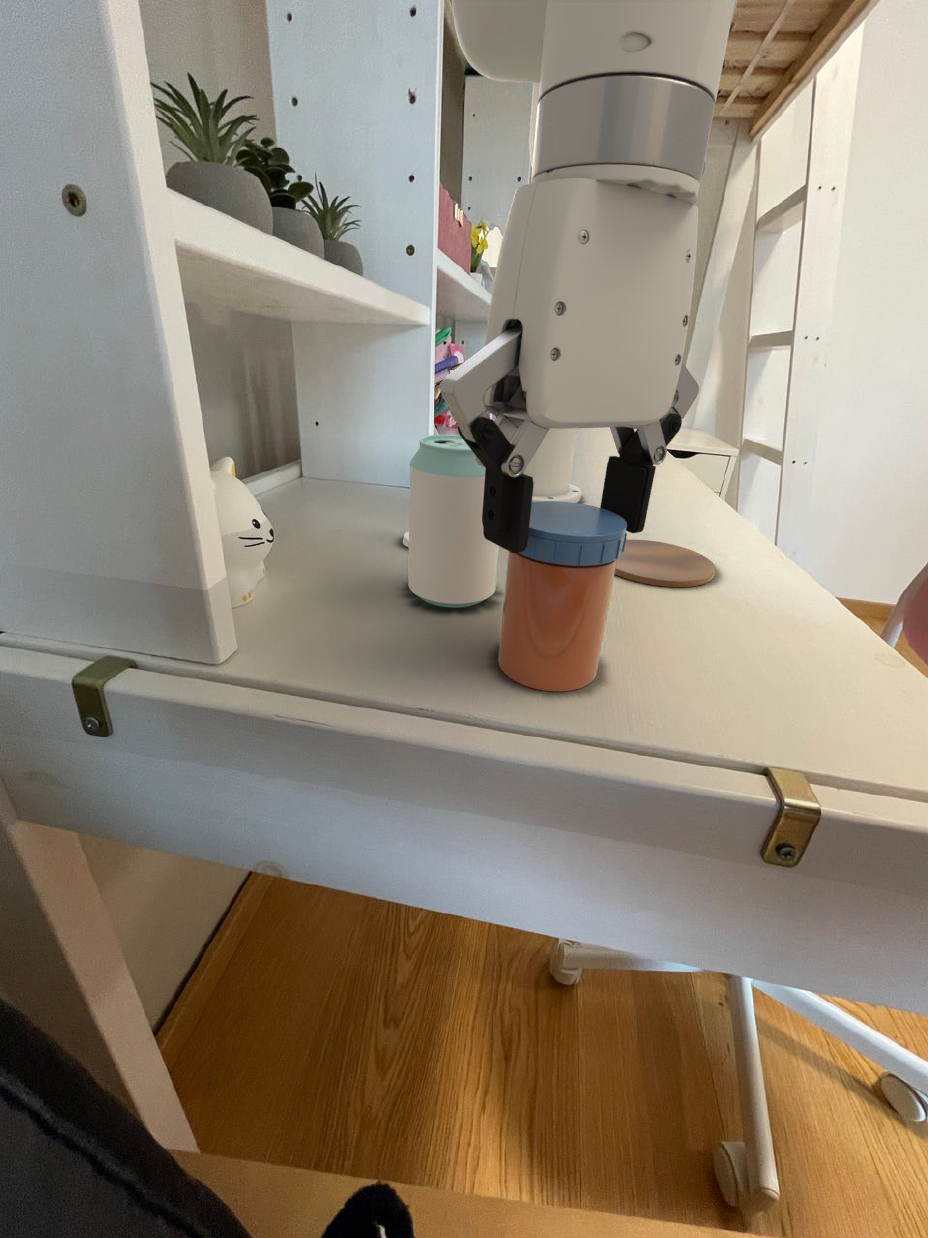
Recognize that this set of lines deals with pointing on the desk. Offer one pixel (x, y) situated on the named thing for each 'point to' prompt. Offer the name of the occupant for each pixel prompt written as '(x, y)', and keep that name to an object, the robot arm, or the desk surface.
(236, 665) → the desk surface
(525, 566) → the jar
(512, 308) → the robot arm
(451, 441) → the can
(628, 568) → the coaster
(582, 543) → the lid
